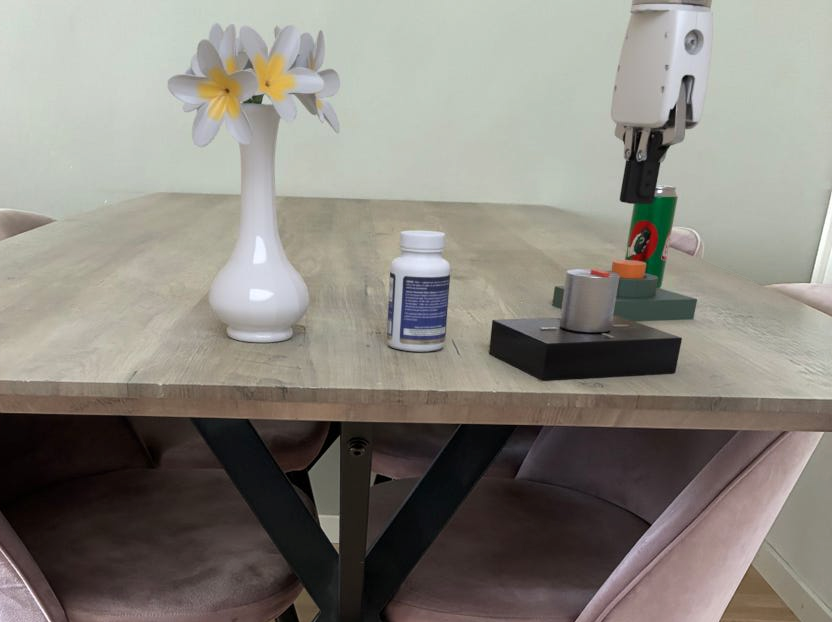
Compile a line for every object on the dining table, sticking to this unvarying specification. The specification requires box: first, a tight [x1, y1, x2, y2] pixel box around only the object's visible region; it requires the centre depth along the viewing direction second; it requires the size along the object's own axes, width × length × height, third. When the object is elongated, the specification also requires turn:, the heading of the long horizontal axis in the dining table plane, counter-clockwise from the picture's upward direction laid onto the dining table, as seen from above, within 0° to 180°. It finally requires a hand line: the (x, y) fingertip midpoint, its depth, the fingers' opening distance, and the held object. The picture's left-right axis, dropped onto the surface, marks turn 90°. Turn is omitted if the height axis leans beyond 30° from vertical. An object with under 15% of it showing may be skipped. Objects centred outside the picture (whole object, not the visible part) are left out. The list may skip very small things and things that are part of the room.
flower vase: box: [167, 22, 341, 344], centre depth 83 cm, size 13×18×25 cm
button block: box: [551, 270, 698, 322], centre depth 106 cm, size 12×10×4 cm
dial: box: [560, 268, 619, 333], centre depth 82 cm, size 4×4×5 cm
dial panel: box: [488, 316, 683, 382], centre depth 83 cm, size 13×10×3 cm
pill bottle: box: [386, 229, 451, 353], centre depth 86 cm, size 5×5×10 cm
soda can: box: [624, 184, 678, 289], centre depth 119 cm, size 5×5×12 cm
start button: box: [610, 259, 646, 278], centre depth 105 cm, size 4×4×2 cm
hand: (636, 202), depth 102 cm, fingers closed
